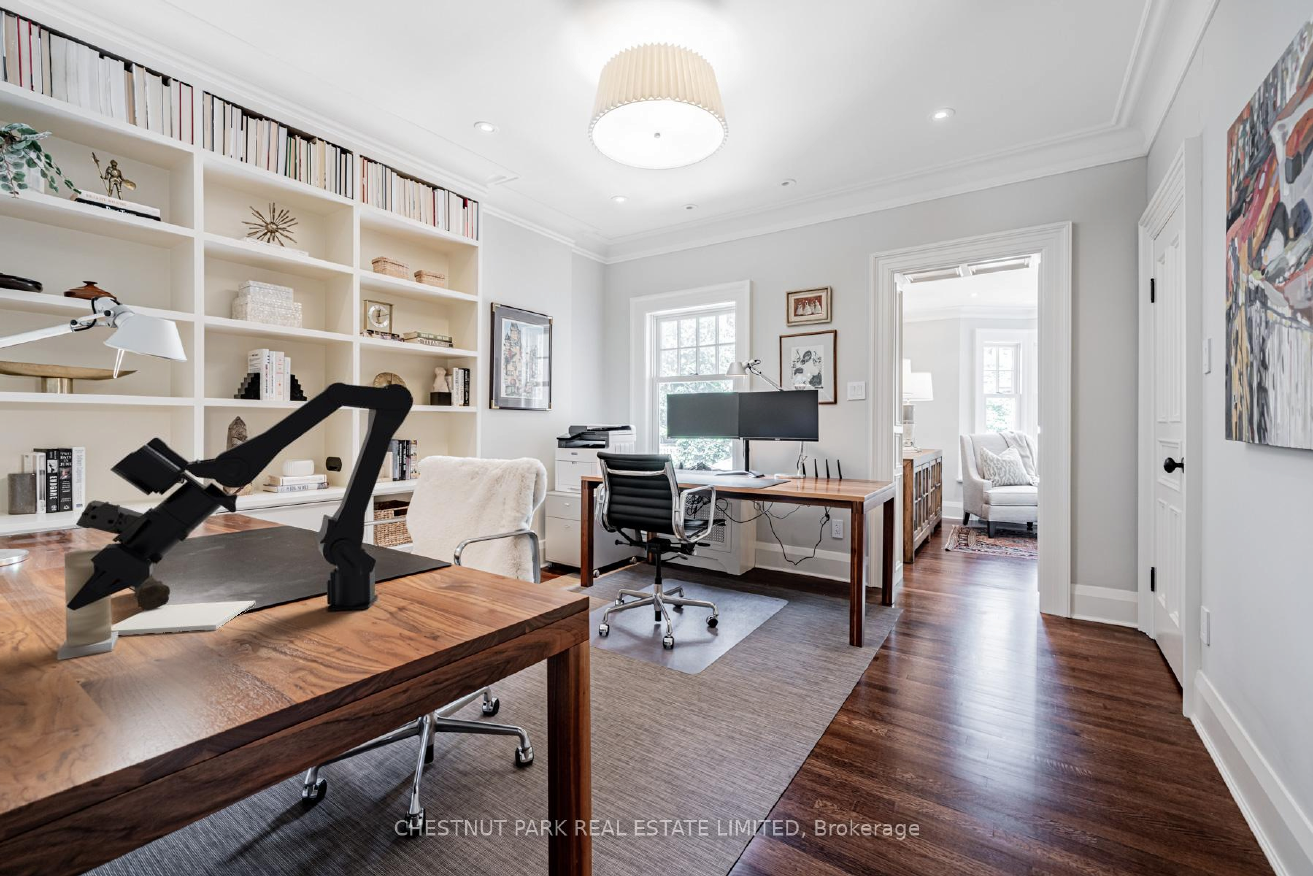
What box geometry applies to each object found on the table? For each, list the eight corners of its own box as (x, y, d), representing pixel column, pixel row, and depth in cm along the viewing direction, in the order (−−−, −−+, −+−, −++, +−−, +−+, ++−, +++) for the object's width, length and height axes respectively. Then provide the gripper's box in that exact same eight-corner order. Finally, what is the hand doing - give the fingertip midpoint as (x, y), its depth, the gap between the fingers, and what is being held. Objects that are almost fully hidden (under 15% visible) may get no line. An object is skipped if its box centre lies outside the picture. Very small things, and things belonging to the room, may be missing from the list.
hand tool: (171, 605, 94) (168, 578, 94) (139, 612, 91) (136, 584, 91) (161, 587, 108) (158, 563, 108) (132, 593, 105) (130, 568, 105)
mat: (255, 605, 98) (255, 600, 98) (215, 629, 86) (215, 624, 86) (155, 610, 95) (155, 605, 95) (100, 636, 83) (100, 631, 83)
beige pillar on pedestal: (118, 639, 82) (116, 546, 82) (111, 650, 78) (109, 552, 78) (67, 647, 79) (65, 550, 79) (57, 660, 75) (55, 557, 75)
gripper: (134, 475, 88) (32, 555, 82) (112, 485, 73) (-15, 585, 67) (200, 520, 93) (109, 599, 87) (192, 539, 78) (81, 636, 72)
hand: (74, 603), depth 78 cm, fingers closed on beige pillar on pedestal, 4 cm apart
